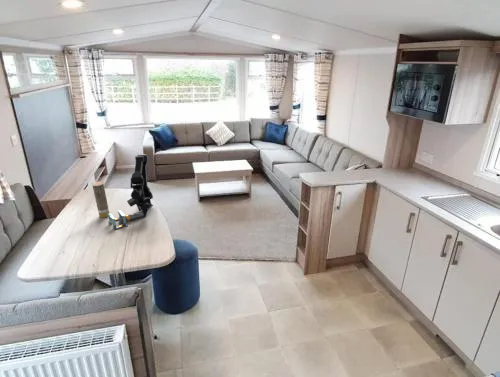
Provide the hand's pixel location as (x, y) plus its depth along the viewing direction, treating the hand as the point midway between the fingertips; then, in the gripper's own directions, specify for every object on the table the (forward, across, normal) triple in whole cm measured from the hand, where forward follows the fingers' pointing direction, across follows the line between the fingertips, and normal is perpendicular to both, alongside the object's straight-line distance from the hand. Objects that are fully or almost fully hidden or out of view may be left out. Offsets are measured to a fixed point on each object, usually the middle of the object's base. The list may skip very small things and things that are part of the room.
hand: (142, 213), depth 218 cm
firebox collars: (+2, 0, -17) cm, 17 cm away
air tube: (+2, 0, -7) cm, 7 cm away
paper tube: (+3, -18, -21) cm, 28 cm away
